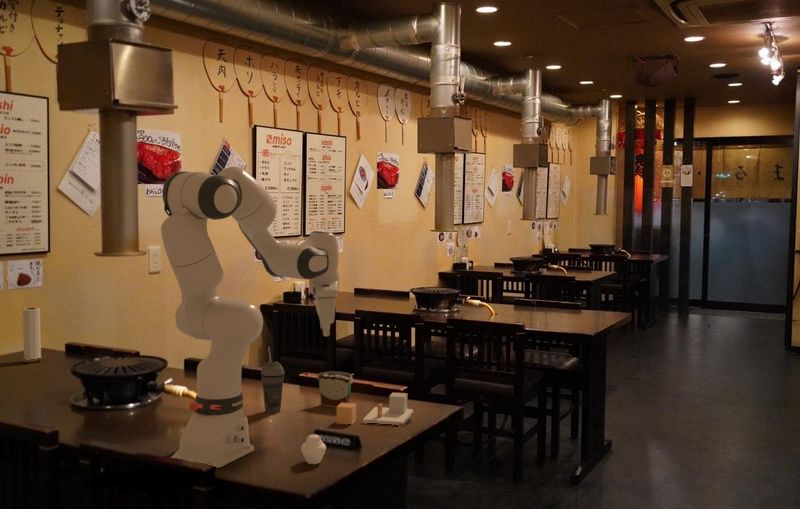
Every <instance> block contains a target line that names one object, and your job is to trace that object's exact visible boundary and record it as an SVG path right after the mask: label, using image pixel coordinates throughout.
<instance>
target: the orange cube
mask: <svg viewBox="0 0 800 509" xmlns="http://www.w3.org/2000/svg"><path fill="white" fill-rule="evenodd" d="M356 421H357V403H354V402H353V403H352V402H351V403H350V402H349V403H340V404H339V405H338V406H337V407H336V425H348V424H351V426H352V425H354V423H355V422H356Z"/></svg>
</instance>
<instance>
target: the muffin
mask: <svg viewBox="0 0 800 509" xmlns="http://www.w3.org/2000/svg"><path fill="white" fill-rule="evenodd" d="M300 451H301V453H302V456H303V457H304V459H305V461H306V463H307V464H309V465H317V464H320V463H321V461H322V460H323V458H324V456H325V454H326V451H327V446H326V444H325V443H324V442H323V440H322V437H321V436H320V435H318V434H314V433H313V434H310V435H308V436H307V437H306V438H305V441H304V442H303V443H302V444H301V446H300Z"/></svg>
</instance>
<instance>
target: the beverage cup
mask: <svg viewBox="0 0 800 509" xmlns="http://www.w3.org/2000/svg"><path fill="white" fill-rule="evenodd" d="M267 350H268V358H269V361H268V362H266V363H265V364H264V365H263V366H262V368H261V371H260V377H261V382H262V392H263V403H264V411H265V413H266V414H270V415H271V414H273V415H274V414H279V413H280V412H281V407H282V398H283V386H284V381H285V380H284V379H285V375H286V374H285V370H284V367H283V366H282V364H281V363H280V362H278V361H274V360H272V355H271V354H272V353H271V347H270V346H268V347H267Z"/></svg>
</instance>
